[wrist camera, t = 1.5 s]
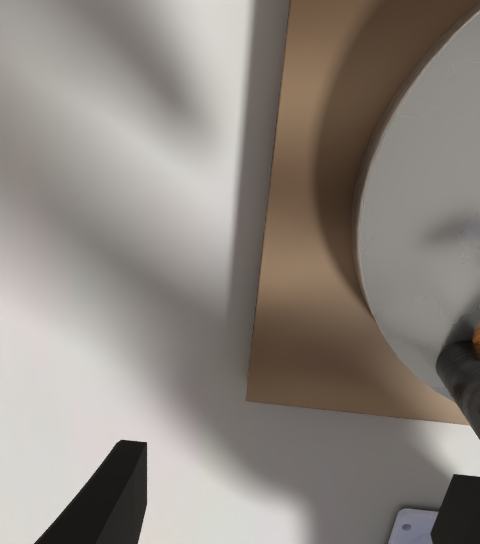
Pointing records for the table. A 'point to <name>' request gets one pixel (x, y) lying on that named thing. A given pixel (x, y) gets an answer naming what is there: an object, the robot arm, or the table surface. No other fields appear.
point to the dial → (427, 219)
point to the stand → (335, 211)
